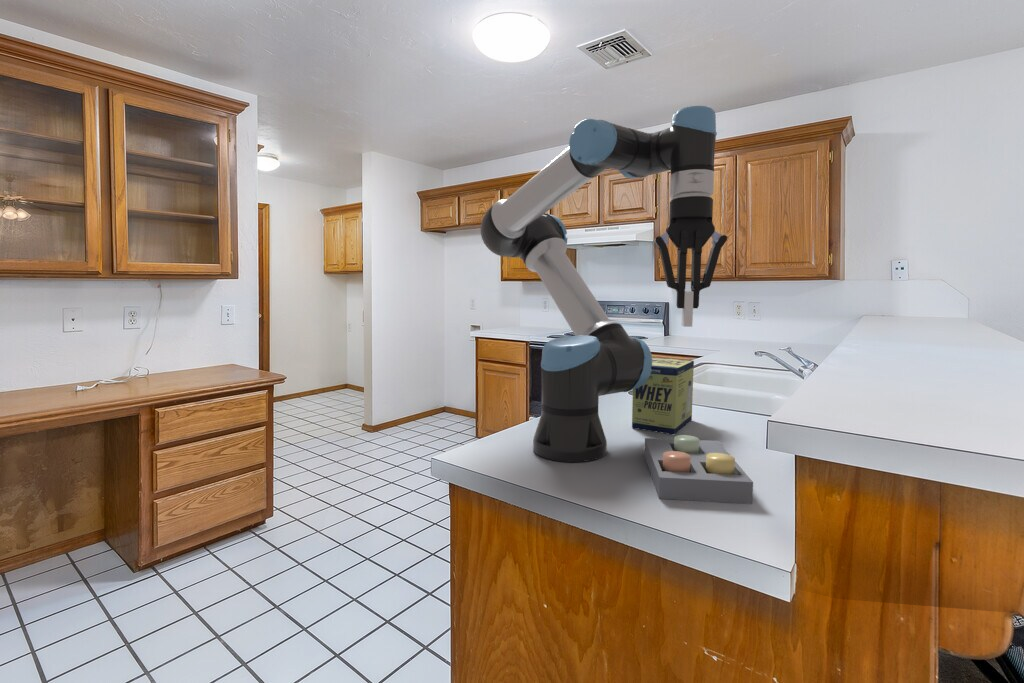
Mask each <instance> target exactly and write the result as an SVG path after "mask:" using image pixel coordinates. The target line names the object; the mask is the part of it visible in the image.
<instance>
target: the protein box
mask: <svg viewBox="0 0 1024 683" xmlns="http://www.w3.org/2000/svg"><path fill="white" fill-rule="evenodd" d="M694 364H695V361H694V360H691V359H680V358H679V359H676V358H666V357H652V365H651V369H652V370H651V374H650V376H649V378H648V380H647V381H646V382H645V383H644V384H643V385H642V386H641V387H639V388H636V389H633V390H632V402H631V403H632V405H631V406H632V408H631V409H632V410H631V411H632V413H631V418H632V419H631V428H632V427H633V428H632V429H635V428H639V429H638V430H642V429H645V430H644V431H648V430H651V431H650V432H654V431H657V432H656V433H660V432H663V433H662V434H666V433H669V434H668V435H672V434H675V435H676V434H677V433H679V432H680V431H681V430H682V429H684V428H685V427H686V426H687V425H688V424H690V422H691V420H693V418H692V417H693V395H694V394H693V391H694V388H693V386H694V368H695V367H694Z"/></svg>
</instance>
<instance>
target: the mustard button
mask: <svg viewBox="0 0 1024 683" xmlns="http://www.w3.org/2000/svg"><path fill="white" fill-rule="evenodd" d="M735 461H736V458H735V457H734V456H732V455H731V454H730V455H728V454H723V453H709V454H707V455H706V473H708V474H729V475H734V470H735Z"/></svg>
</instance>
